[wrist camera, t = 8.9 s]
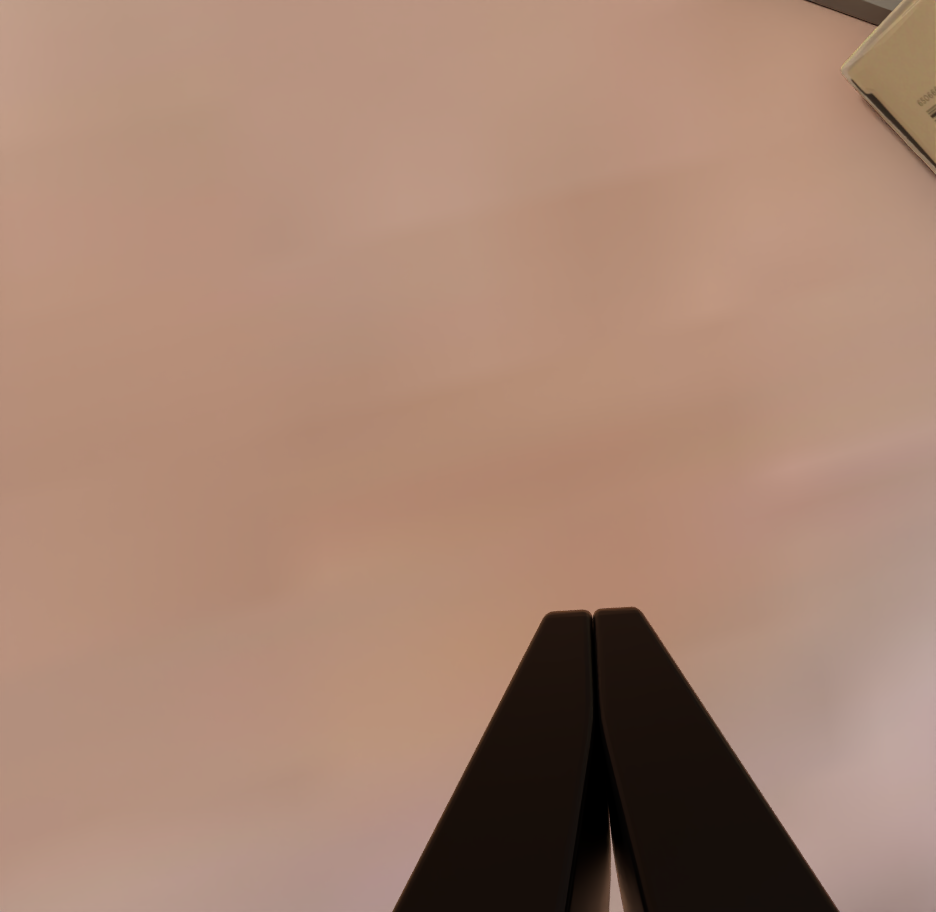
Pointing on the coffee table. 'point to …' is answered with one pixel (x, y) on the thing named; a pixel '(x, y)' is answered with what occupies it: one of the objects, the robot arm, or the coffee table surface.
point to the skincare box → (901, 74)
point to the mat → (863, 8)
